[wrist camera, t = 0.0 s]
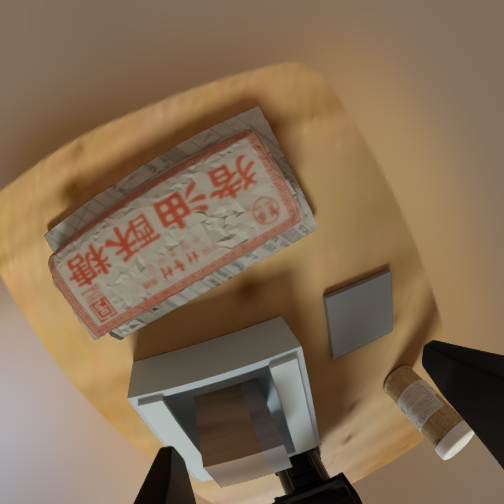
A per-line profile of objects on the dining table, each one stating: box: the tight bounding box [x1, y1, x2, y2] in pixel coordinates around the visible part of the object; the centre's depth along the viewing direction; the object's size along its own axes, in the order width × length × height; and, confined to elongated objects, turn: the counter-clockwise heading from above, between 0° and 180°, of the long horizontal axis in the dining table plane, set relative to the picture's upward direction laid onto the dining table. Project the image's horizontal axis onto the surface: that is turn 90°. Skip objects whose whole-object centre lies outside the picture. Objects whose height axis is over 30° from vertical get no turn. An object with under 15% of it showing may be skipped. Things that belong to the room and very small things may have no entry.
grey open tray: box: [127, 316, 321, 482], centre depth 23 cm, size 14×13×5 cm
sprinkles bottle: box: [383, 365, 474, 460], centre depth 25 cm, size 5×5×14 cm
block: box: [194, 378, 292, 487], centre depth 21 cm, size 4×6×8 cm, turn 105°
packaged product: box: [44, 106, 318, 340], centre depth 18 cm, size 18×5×10 cm
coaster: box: [323, 269, 393, 359], centre depth 26 cm, size 7×7×1 cm
